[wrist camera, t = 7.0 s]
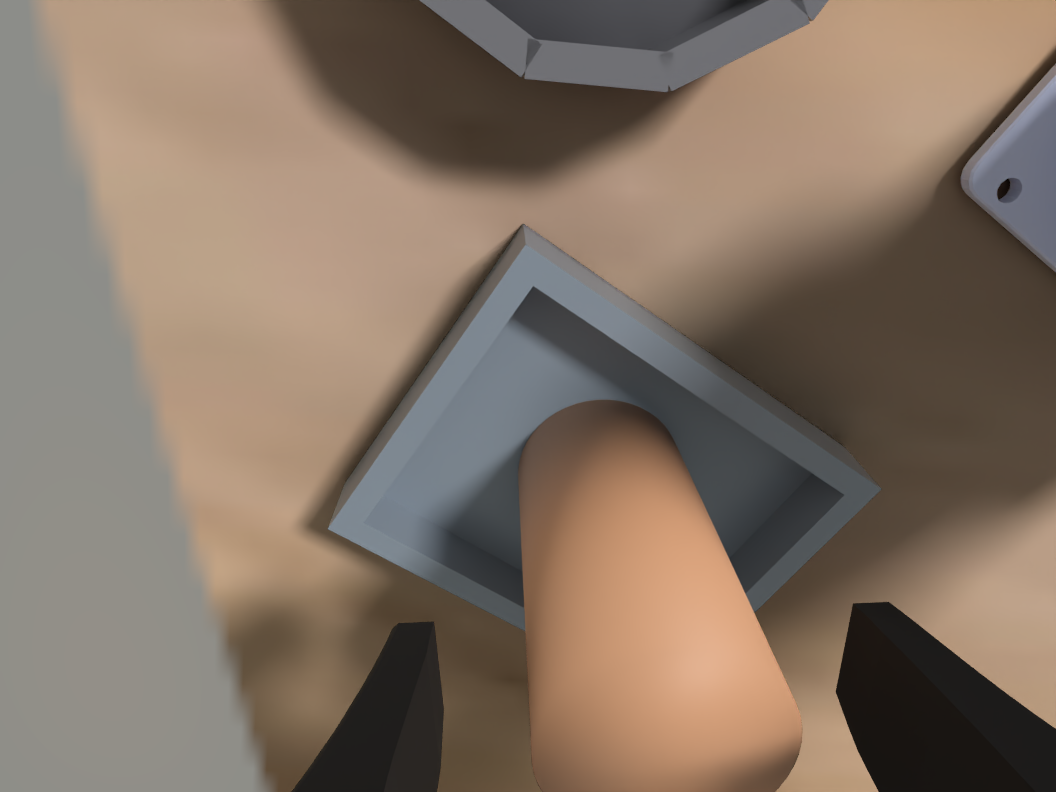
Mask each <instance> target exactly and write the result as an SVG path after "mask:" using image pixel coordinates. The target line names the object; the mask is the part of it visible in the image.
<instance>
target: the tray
mask: <svg viewBox="0 0 1056 792" xmlns="http://www.w3.org/2000/svg"><path fill="white" fill-rule="evenodd" d="M592 400H616V401H622V402H626V403H630V404H633V405H636V406H638V407H640V408H642V409H644V410H646V411H648V412H650V413H651V414H652V415H654V416H655V417H656V418H658V419H659V420H660V421H661V422H662V423H663V424H664V425H665V427H666V428H667V429H668V431H669V432H670V434H671V436H672V437H673V439H674V441H675V443H676V445H677V448H678V450H679V452H680V454H681V456H682V458H683V461H684V463H685V465H686V467H687V469H688V471H689V473H690V476H691V478H692V480H693V482H694V484H695V486H696V489H697V491H698V493H699V495H700V497H701V499H702V501H703V504H704V506H705V508H706V510H707V512H708V514H709V517H710V519H711V521H712V523H713V525H714V527H715V529H716V532H717V534H718V536H719V538H720V540H721V542H722V545H723V547H724V549H725V551H726V553H727V555H728V557H729V560H730V562H731V564H732V566H733V568H734V570H735V573H736V575H737V577H738V579H739V581H740V583H741V585H742V588H743V590H744V592H745V594H746V596H747V598H748V601H749V603H750V605H751V607H752V609H753V611H754V613H755V612H756V611H757V610H758V609H759V608H760V607H761V606H762V605H763V604H764V603H765V602H766V601H767V600H768V599H769V598H770V597H771V596H772V595H773V594H774V593H775V592H776V591H777V590H778V589H779V588H781V587H782V586H783V585H784V584H785V583H786V582H787V581H788V580H789V579H790V578H791V577H792V576H793V575H794V574H795V573H796V572H797V571H798V570H799V569H800V568H801V567H802V566H803V565H804V564H805V563H806V562H807V561H808V560H809V559H810V558H811V557H812V556H813V555H814V554H815V553H817V552H818V551H819V550H820V549H821V548H822V547H823V546H824V545H825V544H826V543H827V542H828V541H829V540H830V539H831V538H832V537H833V536H834V535H835V534H836V533H837V532H838V531H839V530H840V529H841V528H842V527H843V526H844V525H845V524H846V523H847V522H848V521H849V520H850V519H851V518H853V517H854V516H855V515H856V514H857V513H858V512H859V511H860V510H861V509H862V508H863V507H864V506H865V505H866V504H867V503H868V502H869V501H870V500H871V499H872V498H873V497H874V496H875V495H876V494H877V493H878V492H879V491H880V490H881V488H880V487H879V485H878V484H877V483H876V482H875V481H874V480H873V479H872V478H871V476H870V475H869V474H868V473H867V472H866V471H865V470H864V468H863V467H862V466H861V465H860V464H859V463H858V462H857V461H856V459H855V458H854V457H853V456H852V455H851V454H850V453H849V451H848V450H847V449H846V448H845V447H844V446H842V445H841V444H839V443H838V442H837V441H835V440H834V439H832V438H831V437H829V436H828V435H826V434H825V433H824V432H822V431H821V430H819V429H818V428H816V427H815V426H814V425H812V424H811V423H809V422H808V421H806V420H805V419H803V418H802V417H801V416H799V415H798V414H796V413H795V412H793V411H792V410H791V409H789V408H788V407H786V406H785V405H783V404H782V403H780V402H779V401H778V400H776V399H775V398H773V397H772V396H770V395H769V394H768V393H766V392H765V391H763V390H762V389H760V388H759V387H757V386H756V385H755V384H753V383H752V382H750V381H749V380H747V379H746V378H745V377H743V376H742V375H740V374H739V373H737V372H736V371H734V370H733V369H732V368H730V367H729V366H727V365H726V364H724V363H723V362H722V361H720V360H719V359H717V358H716V357H714V356H713V355H712V354H710V353H709V352H707V351H706V350H704V349H703V348H701V347H700V346H699V345H697V344H696V343H694V342H693V341H691V340H690V339H689V338H687V337H686V336H684V335H683V334H681V333H680V332H678V331H677V330H676V329H674V328H673V327H671V326H670V325H668V324H667V323H666V322H664V321H663V320H661V319H660V318H658V317H657V316H655V315H654V314H653V313H651V312H650V311H648V310H647V309H645V308H644V307H643V306H641V305H640V304H638V303H637V302H635V301H634V300H632V299H631V298H630V297H628V296H627V295H625V294H624V293H622V292H621V291H620V290H618V289H617V288H615V287H614V286H612V285H611V284H609V283H608V282H607V281H605V280H604V279H602V278H601V277H599V276H598V275H597V274H595V273H594V272H592V271H591V270H589V269H588V268H587V267H585V266H584V265H582V264H581V263H579V262H578V261H576V260H575V259H574V258H572V257H571V256H569V255H568V254H566V253H565V252H564V251H562V250H561V249H559V248H558V247H556V246H555V245H553V244H552V243H551V242H549V241H548V240H546V239H545V238H543V237H542V236H541V235H539V234H538V233H536V232H535V231H533V230H532V229H530V228H529V227H528V226H526V225H525V224H523V225H522V226H521V228H520V229H519V231H518V232H517V233H516V235H515V236H514V238H513V239H512V241H511V242H510V244H509V245H508V247H507V248H506V249H505V251H504V252H503V254H502V255H501V257H500V258H499V260H498V261H497V263H496V264H495V265H494V267H493V268H492V270H491V271H490V273H489V274H488V276H487V277H486V279H485V280H484V281H483V283H482V284H481V286H480V287H479V289H478V290H477V292H476V293H475V295H474V296H473V297H472V299H471V300H470V302H469V303H468V305H467V306H466V308H465V309H464V311H463V312H462V313H461V315H460V316H459V318H458V319H457V321H456V322H455V324H454V325H453V327H452V328H451V329H450V331H449V332H448V334H447V335H446V337H445V338H444V340H443V341H442V343H441V344H440V345H439V347H438V348H437V350H436V351H435V353H434V354H433V356H432V357H431V359H430V360H429V361H428V363H427V364H426V366H425V367H424V369H423V370H422V372H421V373H420V375H419V376H418V377H417V379H416V380H415V382H414V383H413V385H412V386H411V388H410V389H409V391H408V392H407V393H406V395H405V396H404V398H403V399H402V401H401V402H400V404H399V405H398V407H397V408H396V409H395V411H394V412H393V414H392V415H391V417H390V418H389V420H388V421H387V423H386V424H385V425H384V427H383V428H382V430H381V431H380V433H379V434H378V436H377V437H376V439H375V440H374V441H373V443H372V444H371V446H370V447H369V449H368V450H367V452H366V453H365V455H364V456H363V457H362V459H361V460H360V462H359V463H358V465H357V466H356V468H355V469H354V471H353V472H352V474H351V475H350V476H349V478H348V479H347V481H346V482H345V484H344V487H343V489H342V492H341V495H340V497H339V500H338V503H337V505H336V508H335V511H334V513H333V516H332V519H331V521H330V524H329V526H328V529H329V530H331V531H332V532H334V533H336V534H338V535H340V536H342V537H344V538H346V539H348V540H350V541H352V542H354V543H356V544H358V545H359V546H361V547H363V548H365V549H367V550H369V551H371V552H373V553H375V554H377V555H379V556H381V557H383V558H385V559H386V560H388V561H390V562H392V563H394V564H396V565H398V566H400V567H402V568H404V569H406V570H408V571H410V572H412V573H413V574H415V575H417V576H419V577H421V578H423V579H425V580H427V581H429V582H431V583H433V584H435V585H437V586H439V587H440V588H442V589H444V590H446V591H448V592H450V593H452V594H454V595H456V596H458V597H460V598H462V599H464V600H466V601H467V602H469V603H471V604H473V605H475V606H477V607H479V608H481V609H483V610H485V611H487V612H489V613H491V614H493V615H494V616H496V617H498V618H500V619H502V620H504V621H506V622H508V623H510V624H512V625H514V626H516V627H518V628H520V629H521V630H523V631H525V611H524V590H523V570H522V549H521V528H520V507H519V486H518V467H519V461H520V457H521V454H522V451H523V449H524V447H525V444H526V442H527V441H528V439H529V438H530V436H531V435H532V433H533V432H534V431H535V430H536V429H537V428H538V426H539V425H541V424H542V423H543V422H544V421H545V420H546V419H547V418H549V417H550V416H552V415H553V414H555V413H556V412H558V411H560V410H562V409H564V408H566V407H569V406H571V405H574V404H577V403H581V402H585V401H592Z"/></svg>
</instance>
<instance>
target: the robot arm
mask: <svg viewBox="0 0 1056 792" xmlns="http://www.w3.org/2000/svg"><path fill="white" fill-rule="evenodd" d="M1008 178H1009V180H1010V189H1009V191H1008V192H1007V194H1006V195H1005V196H1004V197H1002V198H1001V199H998V198H997V189H998V188H999V186H1000V184H1001V183H1002V182H1004V181H1005V180H1006V179H1008ZM961 186H962V189H963V190H964V191H965V193H966V194H967V195H968V196H969V197H970V198H971V199H972V200H974V201H975V202H976V203H977V204H978V205H979V206H980V207H982V208H983V209H984V210H985V211H986V212H987V213H988V214H990V215H991V216H992V217H993V218H994V219H995V220H996V221H998V222H999V223H1000V224H1001V225H1002V226H1003V227H1004V228H1005V229H1007V230H1008V231H1009V232H1010V233H1011V234H1012V235H1013V236H1015V237H1016V238H1017V239H1018V240H1019V241H1020V242H1021V243H1023V244H1024V245H1025V246H1026V247H1027V248H1028V249H1029V250H1031V251H1032V252H1033V253H1034V254H1035V255H1036V256H1037V257H1038V258H1040V259H1041V260H1042V261H1043V262H1044V263H1045V264H1046V265H1048V266H1049V267H1050V268H1051V269H1052V270H1053V271H1054V272H1056V64H1055V65H1054V66H1053V67H1052V68H1051V69H1050V70H1049V72H1048V73H1047V74H1046V75H1045V76H1044V77H1043V78H1042V79H1041V80H1040V82H1039V83H1038V84H1037V85H1036V86H1035V87H1034V88H1033V89H1032V90H1031V92H1030V93H1029V94H1028V95H1027V96H1026V97H1025V98H1024V99H1023V101H1022V102H1021V103H1020V104H1019V105H1018V106H1017V107H1016V108H1015V109H1014V111H1013V112H1012V113H1011V114H1010V115H1009V116H1008V117H1007V118H1006V119H1005V121H1004V122H1003V123H1002V124H1001V125H1000V126H999V127H998V128H997V129H996V131H995V132H994V133H993V134H992V135H991V136H990V137H989V138H988V140H987V141H986V142H985V143H984V144H983V145H982V146H981V147H980V148H979V150H978V151H977V152H976V153H975V154H974V155H973V156H972V157H971V158H970V160H969V161H968V162H967V164H966V165H965V167H964V168H963V171H962V175H961ZM836 694H837V696H838V699H839V702H840V705H841V708H842V710H843V713H844V716H845V719H846V721H847V724H848V727H849V729H850V732H851V734H852V737H853V740H854V742H855V745H856V747H857V750H858V752H859V754H860V756H861V758H862V760H863V762H864V764H865V766H866V768H867V770H868V772H869V774H870V776H871V778H872V780H873V782H874V784H875V785H876V787H877V789H878V791H879V792H1056V729H1055V728H1054V727H1052V726H1051V725H1049V724H1048V723H1047V722H1045V721H1044V720H1042V719H1041V718H1039V717H1038V716H1036V715H1035V714H1034V713H1032V712H1031V711H1030V710H1028V709H1027V708H1025V707H1024V706H1023V705H1021V704H1020V703H1019V702H1017V701H1016V700H1015V699H1013V698H1012V697H1010V696H1009V695H1008V694H1006V693H1005V692H1004V691H1002V690H1001V689H1000V688H998V687H997V686H996V685H995V684H993V683H992V682H991V681H989V680H988V679H987V678H985V677H984V676H983V675H981V674H980V673H979V672H978V671H976V670H975V669H974V668H972V667H971V666H970V665H969V664H967V663H966V662H965V661H963V660H962V659H961V658H960V657H958V656H957V655H956V654H955V653H953V652H952V651H951V650H949V649H948V648H947V647H946V646H944V645H943V644H942V643H941V642H939V641H938V640H937V639H936V638H934V637H933V636H932V635H931V634H929V633H928V632H927V631H925V630H924V629H923V628H922V627H920V626H919V625H918V624H917V623H915V622H914V621H913V620H912V619H910V618H909V617H908V616H906V615H905V614H904V613H903V612H901V611H900V610H899V609H897V608H896V607H895V606H893V605H892V604H891V603H889V602H878V603H855V604H853V607H852V612H851V617H850V622H849V627H848V632H847V637H846V643H845V648H844V653H843V658H842V663H841V668H840V673H839V678H838V683H837V688H836ZM443 714H444V707H443V698H442V689H441V680H440V671H439V662H438V654H437V645H436V636H435V627H434V622H417V623H398V624H397V625H396V626H395V627H394V628H393V629H392V631H391V633H390V635H389V637H388V640H387V642H386V644H385V646H384V648H383V650H382V652H381V653H380V655H379V657H378V659H377V661H376V663H375V665H374V667H373V668H372V670H371V672H370V674H369V675H368V677H367V679H366V681H365V683H364V684H363V686H362V688H361V689H360V691H359V693H358V694H357V696H356V698H355V699H354V701H353V702H352V704H351V706H350V707H349V709H348V711H347V712H346V714H345V715H344V717H343V719H342V720H341V722H340V724H339V725H338V727H337V728H336V730H335V731H334V733H333V734H332V736H331V737H330V739H329V740H328V741H327V743H326V744H325V746H324V747H323V749H322V750H321V751H320V753H319V754H318V756H317V757H316V759H315V760H314V762H313V763H312V764H311V766H310V767H309V769H308V770H307V772H306V773H305V774H304V776H303V777H302V778H301V780H300V781H299V782H298V784H297V785H296V786H295V788H294V789H293V790H292V792H437V788H438V781H439V775H440V766H441V750H442V733H443Z"/></svg>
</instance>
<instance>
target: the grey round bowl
mask: <svg viewBox="0 0 1056 792" xmlns="http://www.w3.org/2000/svg"><path fill="white" fill-rule="evenodd" d="M420 1H421V2H422V3H424V4H425V5H426V6H428V7H429V8H430V9H432V10H433V11H434V12H435V13H437V14H438V15H439V16H441V17H442V18H443V19H445V20H446V21H447V22H449V23H450V24H451V25H453V26H454V27H455V28H457V29H458V30H459V31H460V32H462V33H463V34H464V35H466V36H467V37H468V38H470V39H471V40H472V41H474V42H475V43H476V44H478V45H479V46H480V47H482V48H483V49H484V50H486V51H487V52H488V53H489V54H491V55H492V56H493V57H495V58H496V59H497V60H499V61H500V62H501V63H503V64H504V65H505V66H507V67H508V68H509V69H511V70H512V71H513V72H515V73H516V74H517V75H518V76H520V77H523V78H524V79H532V80H542V81H553V82H564V83H575V84H585V85H596V86H607V87H618V88H628V89H639V90H650V91H660V92H668V91H673V90H675V89H677V88H679V87H681V86H683V85H685V84H687V83H689V82H692V81H694V80H696V79H698V78H700V77H702V76H704V75H706V74H708V73H710V72H712V71H714V70H716V69H718V68H720V67H722V66H724V65H726V64H728V63H730V62H732V61H734V60H736V59H738V58H740V57H742V56H744V55H746V54H748V53H750V52H752V51H755V50H757V49H759V48H761V47H763V46H765V45H767V44H769V43H771V42H773V41H775V40H777V39H779V38H781V37H783V36H785V35H787V34H789V33H791V32H793V31H795V30H797V29H799V28H801V27H803V26H805V25H807V24H809V21H813V20H814V19H815V17H816V16H817V15H818V13H819V12H820V11H821V9H822V8H823V7H824V5H825V4H826V3H827V2H828V0H420Z"/></svg>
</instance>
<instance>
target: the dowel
mask: <svg viewBox="0 0 1056 792" xmlns="http://www.w3.org/2000/svg"><path fill="white" fill-rule="evenodd" d="M518 486H519V507H520V528H521V549H522V570H523V590H524V611H525V632H526V653H527V674H528V695H529V716H530V736H531V757H532V766H533V771H534V775H535V778H536V780H537V783H538V785H539V787H540V789H541V790H542V792H775V791H776V790H777V789H778V788H779V787H780V786H781V784H782V783H783V782H784V781H785V779H786V778H787V777H788V775H789V773H790V772H791V770H792V768H793V767H794V765H795V762H796V760H797V757H798V755H799V751H800V747H801V743H802V722H801V716H800V713H799V710H798V707H797V704H796V702H795V700H794V698H793V695H792V693H791V691H790V689H789V687H788V685H787V682H786V680H785V678H784V676H783V674H782V672H781V670H780V667H779V665H778V663H777V661H776V659H775V657H774V654H773V652H772V650H771V648H770V646H769V644H768V641H767V639H766V637H765V635H764V633H763V631H762V629H761V626H760V624H759V622H758V620H757V618H756V616H755V613H754V611H753V609H752V607H751V605H750V603H749V601H748V598H747V596H746V594H745V592H744V590H743V588H742V585H741V583H740V581H739V579H738V577H737V575H736V573H735V570H734V568H733V566H732V564H731V562H730V560H729V557H728V555H727V553H726V551H725V549H724V547H723V545H722V542H721V540H720V538H719V536H718V534H717V532H716V529H715V527H714V525H713V523H712V521H711V519H710V517H709V514H708V512H707V510H706V508H705V506H704V504H703V501H702V499H701V497H700V495H699V493H698V491H697V489H696V486H695V484H694V482H693V480H692V478H691V476H690V473H689V471H688V469H687V467H686V465H685V463H684V461H683V458H682V456H681V454H680V452H679V450H678V448H677V445H676V443H675V441H674V439H673V437H672V436H671V434H670V432H669V431H668V429H667V428H666V427H665V425H664V424H663V423H662V422H661V421H660V420H659V419H658V418H656V417H655V416H654V415H652V414H651V413H650V412H648V411H646V410H644V409H642V408H640V407H638V406H636V405H633V404H630V403H626V402H622V401H616V400H592V401H585V402H581V403H577V404H574V405H571V406H569V407H566V408H564V409H562V410H560V411H558V412H556V413H555V414H553V415H552V416H550V417H549V418H547V419H546V420H545V421H544V422H543V423H542V424H541V425H539V426H538V428H537V429H536V430H535V431H534V432H533V433H532V435H531V436H530V438H529V439H528V441H527V442H526V444H525V447H524V449H523V451H522V454H521V457H520V461H519V467H518Z"/></svg>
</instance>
